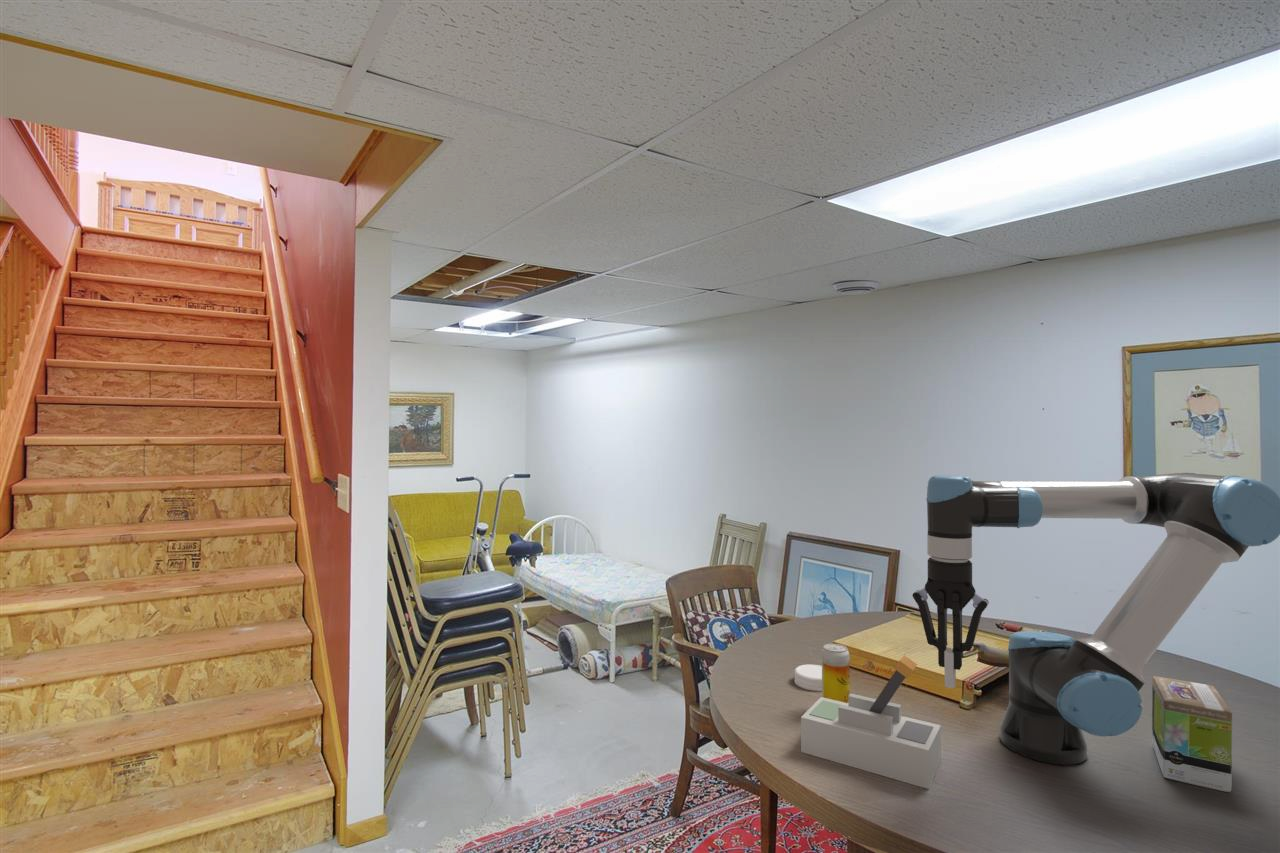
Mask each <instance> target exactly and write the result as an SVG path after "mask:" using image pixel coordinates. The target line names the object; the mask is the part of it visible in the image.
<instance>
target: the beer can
mask: <svg viewBox="0 0 1280 853" xmlns="http://www.w3.org/2000/svg"><path fill="white" fill-rule="evenodd" d="M821 666H822V691H821V697H823V698H827V699H832V700H836V701H840V702H844V703H848V696H849V695H850V694H851V692H850V689H851V688H850V652H849V650H848V647H847V646H846V645H843V644H839V643H827V644H824V645H823V647H822V650H821Z"/></svg>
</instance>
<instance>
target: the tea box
mask: <svg viewBox="0 0 1280 853" xmlns="http://www.w3.org/2000/svg"><path fill="white" fill-rule="evenodd" d="M1151 686H1152V689H1151V690H1152V705H1151V706H1152V708H1151V709H1152V711H1151V712H1152V714H1151V716H1152V717H1151V719H1152V720H1151V725H1152V726H1151V727H1152V728H1151V739H1152V740H1151V743H1152V744H1151V745H1152V747H1153V751H1154V753H1155V756H1156V760H1157V762H1158V766H1159V768H1160V771H1161V774H1162V777H1163V778H1165V779H1168V780H1172V781H1177V782H1180V783H1186V784H1189V785H1193V786H1197V787H1198V786H1199V787H1203V788H1206V789H1207V788H1208V789H1211V790H1216V791H1221V792H1225V793H1231V791H1232V789H1233V788H1232V784H1233V783H1232V781H1233V780H1232V778H1233V777H1232V775H1233V772H1232V766H1233V764H1232V763H1233V758H1232V757H1233V754H1232V753H1233V751H1232V750H1233V712H1232V710H1231V709H1230V707H1229V705H1228V704H1227V703H1226V701H1225V700H1224V699H1223V697H1222V696H1221V694H1220V693H1219V691H1218V689H1216V687H1215V686H1214V685H1210V684H1204V683H1199V682H1194V681H1186V680H1181V679H1175V678H1168V677H1162V676H1155V675H1154V676H1152V685H1151Z"/></svg>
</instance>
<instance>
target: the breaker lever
mask: <svg viewBox="0 0 1280 853" xmlns="http://www.w3.org/2000/svg"><path fill="white" fill-rule="evenodd" d="M917 666H918V664H917V662H914V661H913V660H912V659H911V658H909V657H907V656H906V655H905V654H903V656H902V657H901V658H900V659H899V661H898V662H897V664H896V665H895V667H894V668H893V669H894V670H895V671H894V672H893V674H892V675H891V677H890V678H889V680H888V681H887V683H885V684H886V685H885V686H884V688H883V689H882V690H881V692H880V693H879V695H878V696H877V697H876V698H875V699H876V701H875V702H874V704H873V705H872V707H871V708H870V710H869V711H870V712H874V713H878V714H881V713H882V712H883V710H884V709H885V707H886V706H887V704H888V703H889V702H890V701H891V700H892V698H893V697H894V695H895V693H896V692H897V691H898V690H899V688H900V687H901V685H902V683H903V682H904V681H905V680H906V679H909V677H910V676H911V674H912V673H913V671H914V670H915V668H916V667H917Z"/></svg>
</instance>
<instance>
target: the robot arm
mask: <svg viewBox="0 0 1280 853" xmlns="http://www.w3.org/2000/svg"><path fill="white" fill-rule="evenodd" d="M926 488H927V492H926V506H927V508H926V511H927V535H926V536H927V539H926V540H927V541H926V542H927V549H926V550H927V555H928V556H929V557H928V559H927V581H926V583H925V585H924V587H923V588H922V589H919V590H918V589H917V590H916V591H914V592H913V593H912V598H913V600H914V601H915V603H916V605H917V606H918V611H919V614H920V618H921V622H922V625H923V630H924V633H925V637H926V642H927V643H928V645H930V646H933V647H935V648H936V649H937V652H938V653H937V654H938V655H937V658H938V659H937V661H938V666H939V667H941V668H944V688H950V689H955V686H956V683H957V681H956V680H957V675H956V674H957V671H956V670H958V671H960V670H961V668H962V666H963V652H970V651H972V649H973V646H974V645H975V644H974V643H975V640H976V635H977V633H978V632H977V631H978V629H979V624H980V621H981V618H982V614H983V613H984V611H985V610H986V609H987V607H988V605H989V600H988V599H987V598H983V597H981V596H980V595H979V594H977V592H976V588H975V587H974V585H973V562H972V561H971V558H972V557H973V527H974V528H981V527H982V528H985V527H986V528H1016V529H1020V528H1032V527H1034V526H1036V525H1038V524H1039V523H1040V521H1041V519H1102V520H1103V519H1111V520H1112V519H1113V520H1114V519H1120V520H1123V521H1124V522H1125V523H1128V524H1131V525H1132V524H1133V525H1139V524H1140V525H1149V526H1156V527H1160V528H1164V530H1165V531H1166V533H1167V534H1166V535H1167V536H1166V537H1165V539H1164V540H1163V541H1162V543H1161V544H1160V545H1159V546H1158V548H1157V550H1156V551H1155V552H1154V554H1153V555H1152V556H1151V557H1150V558H1149V560H1148V561H1147V562H1146V563H1145V565H1144V567H1143V568H1142V569H1141V570H1140V572H1139V573H1138V574H1137V576H1136V577H1135V578H1134V579H1133V580H1132V582H1131V583H1130V585H1129V586H1128V587H1127V589H1126V590H1125V591H1124V593H1123V594H1122V596H1121V597H1120V598H1119V599H1118V600H1117V602H1116V603H1115V605H1114V606H1113V607H1112V609H1111V610H1110V611H1109V612H1108V614H1107V615H1106V616H1105V618H1104V619H1103V621H1102V622H1101V623H1100V624H1099V626H1098V627H1097V628H1096V630H1095V631H1094V632H1093V633H1092V635H1091V636H1089V637H1085V638H1084V637H1082V638H1076V639H1074V638H1073V637H1072V636H1069V635H1067V634H1062V633H1056V632H1048V631H1037V630H1030V631H1029V630H1021V631H1020V630H1019V631H1016V632H1012V633H1011V635H1010V636H1009V640H1008V641H1009V642H1008V649H1007V651H1008V685H1009V687H1008V688H1009V689H1008V691H1009V694H1008V696H1009V700H1008V701H1009V702H1008V705H1007V707H1006V710H1005V713H1004V715H1003V719H1002V720H1001V723H1000V727H999V734H1000V735H999V739H1000V741H1001V743H1002V744H1003V745H1004V746H1005V747H1007V748H1008V749H1010V750H1011V751H1012V752H1014V753H1016V754H1019V755H1020V756H1023V757H1025V758H1028V759H1032V760H1034V761H1038V762H1042V763H1046V764H1053V765H1064V766H1065V765H1068V766H1069V765H1076V764H1082V763H1083V762H1085V761H1086V760H1087V758H1088V745H1087V742H1086V738H1085V736H1084V732H1085V733H1087V734H1089V735H1092V736H1096V737H1103V738H1104V737H1116V736H1119V735H1122V734H1124V733H1126V732H1128V731H1129V730H1131V729H1132V728H1133V727H1134V726H1135V725H1136V724H1137V723H1138V722H1139V720H1140V719H1141V715H1142V713H1143V707H1142V706H1141V704H1142V702H1143V701H1142V697H1141V694H1140V692H1139V691H1140V690H1141V689H1142V688H1143V686H1144V685H1145V683H1146V681H1145V679H1144V676H1143V672H1142V671H1143V670H1142V669H1143V668H1144V666H1145V665H1146V664H1147V662H1148V661H1149V660H1150V659H1151V657H1152V656H1153V654H1154V653H1155V652H1156V651H1157V649H1158V648H1159V647H1160V646H1161V644H1162V643H1163V642H1164V641H1165V639H1166V638H1167V636H1168V635H1169V634H1170V632H1171V631H1172V630H1173V628H1174V627H1175V626H1176V624H1177V623H1178V622H1179V621H1180V619H1181V618H1182V617H1183V615H1184V614H1185V612H1186V611H1187V610H1188V609H1189V607H1190V606H1191V604H1192V603H1193V602H1194V601H1195V599H1196V598H1197V597H1198V595H1199V594H1200V593H1201V592H1202V590H1203V589H1204V587H1205V586H1206V585H1207V583H1208V582H1209V581H1210V580H1211V579H1212V577H1213V576H1214V575H1215V573H1216V572H1217V570H1218V569H1219V568H1220V566H1221V565H1223V564H1225V563H1234V562H1238V561H1239V560H1240V559H1241V558H1242V556H1243V555H1244V553H1246V551H1247V550H1248V549H1249V548H1250V547H1260V546H1263V545H1269V544H1271V543H1273V542H1274V541H1275V540H1276V539H1277V538H1278V537H1279V536H1280V496H1279V495H1278V493H1277V492H1276V491H1275V490H1274V489H1273V488H1272V487H1271V486H1269V485H1268V484H1266V483H1265V482H1262V481H1260V480H1257V479H1253V478H1248V477H1244V476H1239V475H1228V476H1227V475H1215V474H1204V473H1194V472H1177V473H1176V472H1175V473H1165V474H1155V475H1154V474H1153V475H1139V476H1137V475H1136V476H1135V475H1134V476H1132V475H1131V476H1124V477H1121V478H1120V479H1119V480H1118V481H1117V480H1116V481H1112V480H1109V481H1108V480H1107V481H1106V480H1105V481H1103V480H1100V481H1099V480H1095V481H1093V480H1091V481H1090V480H1089V481H1088V480H1087V481H1085V480H1082V481H1080V480H1077V481H1075V480H1073V481H1072V480H1069V481H1067V480H1065V481H1064V480H1063V481H1062V480H1061V481H1059V480H1056V481H1055V480H1052V481H1049V480H1048V481H1047V480H1044V481H1043V480H1039V481H1038V480H1036V481H1035V480H1031V481H1030V480H1029V481H1028V480H1027V481H1026V480H1025V481H1024V480H1022V481H1019V480H1018V481H1017V480H1016V481H1015V480H1013V481H1012V480H1010V481H1008V480H1007V481H1006V480H1004V481H1001V480H1000V481H999V480H998V481H992V480H991V481H990V480H989V481H986V480H985V481H983V480H981V481H980V480H979V481H977V480H972V478H971V477H969V476H967V475H950V474H949V475H947V474H946V475H943V474H942V475H941V474H940V475H933V476H931V477H929V479H928V482H927V487H926ZM928 596H929V597H930V599H931V600H932V602H933V603H934V604H935V606H936V611H937V612H936V613H937V634H936V630H935V627H934V626H935V625H934V623H933V618H932V615H931V611H930V610H931V609H930V606H929V603H928V601H927V600H928V598H929V597H928ZM971 601H972V607H973V608H974V610H973V613H972V616H971V619H970V624H969V627H968V630H967V635H966V638H965V641H964V642H963V609H964V608H965V607H966V606H967V605H968V604H969V603H970V602H971ZM948 609H949V610H951V612H952V647H947V646H948V644H949V643H948Z"/></svg>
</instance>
